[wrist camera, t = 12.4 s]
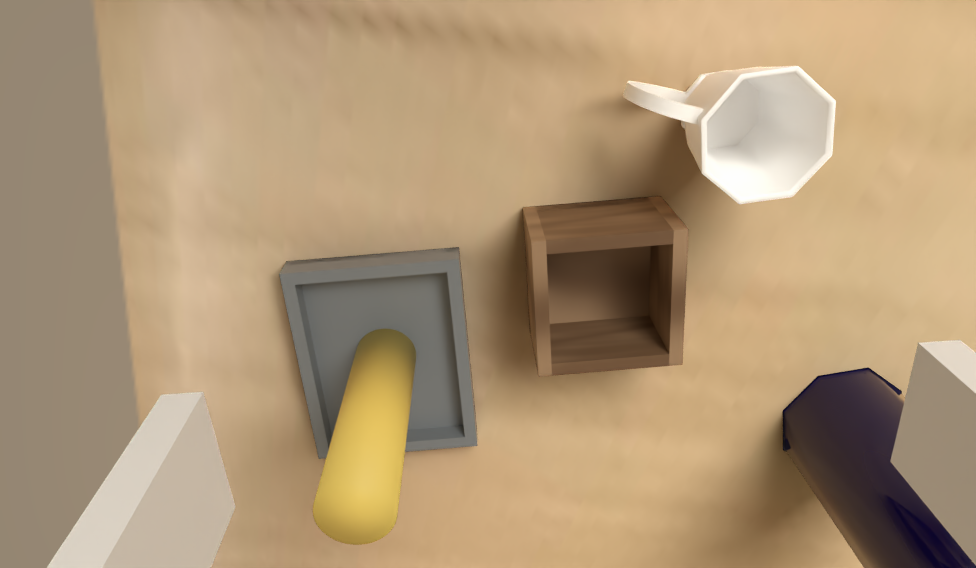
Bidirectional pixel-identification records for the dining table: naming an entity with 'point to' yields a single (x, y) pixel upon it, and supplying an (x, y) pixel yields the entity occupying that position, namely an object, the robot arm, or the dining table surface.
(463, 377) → the tray
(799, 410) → the bottle
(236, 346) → the dining table surface
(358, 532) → the dowel
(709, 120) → the cup
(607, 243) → the holder
